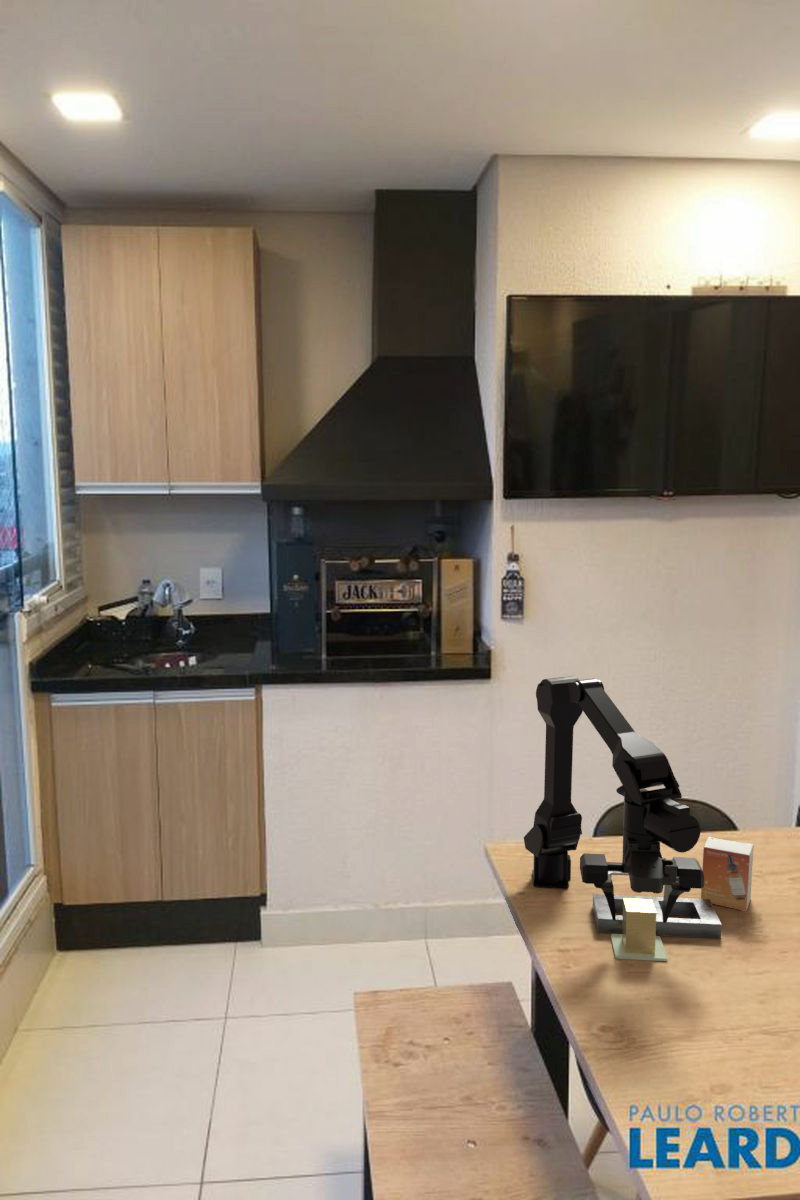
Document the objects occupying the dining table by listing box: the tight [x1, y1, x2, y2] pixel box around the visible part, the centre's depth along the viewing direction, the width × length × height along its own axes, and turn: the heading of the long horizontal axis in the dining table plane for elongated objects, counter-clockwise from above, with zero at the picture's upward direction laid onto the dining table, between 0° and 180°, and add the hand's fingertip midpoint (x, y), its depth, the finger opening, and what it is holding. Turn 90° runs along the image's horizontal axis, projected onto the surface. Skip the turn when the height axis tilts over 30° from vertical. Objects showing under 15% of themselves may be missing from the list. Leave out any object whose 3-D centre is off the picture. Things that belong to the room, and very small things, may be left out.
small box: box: [700, 836, 755, 912], centre depth 162 cm, size 8×6×10 cm
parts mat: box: [610, 933, 668, 962], centre depth 146 cm, size 8×7×1 cm
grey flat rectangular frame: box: [592, 893, 723, 940], centre depth 155 cm, size 20×9×2 cm, turn 83°
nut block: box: [621, 898, 656, 954], centre depth 146 cm, size 5×5×7 cm
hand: (638, 920), depth 146 cm, fingers open, 8 cm apart
